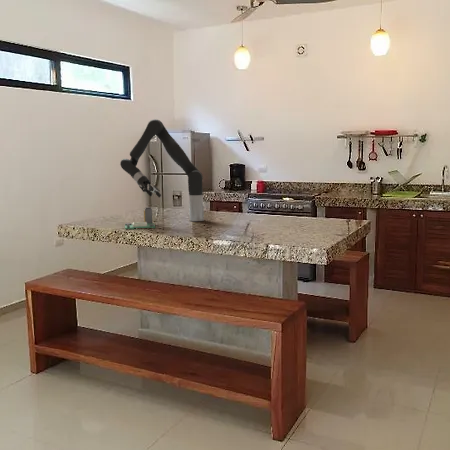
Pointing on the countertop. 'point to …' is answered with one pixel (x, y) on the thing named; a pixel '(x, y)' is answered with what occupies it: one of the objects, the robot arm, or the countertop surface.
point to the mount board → (139, 225)
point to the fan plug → (148, 215)
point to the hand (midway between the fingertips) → (155, 195)
